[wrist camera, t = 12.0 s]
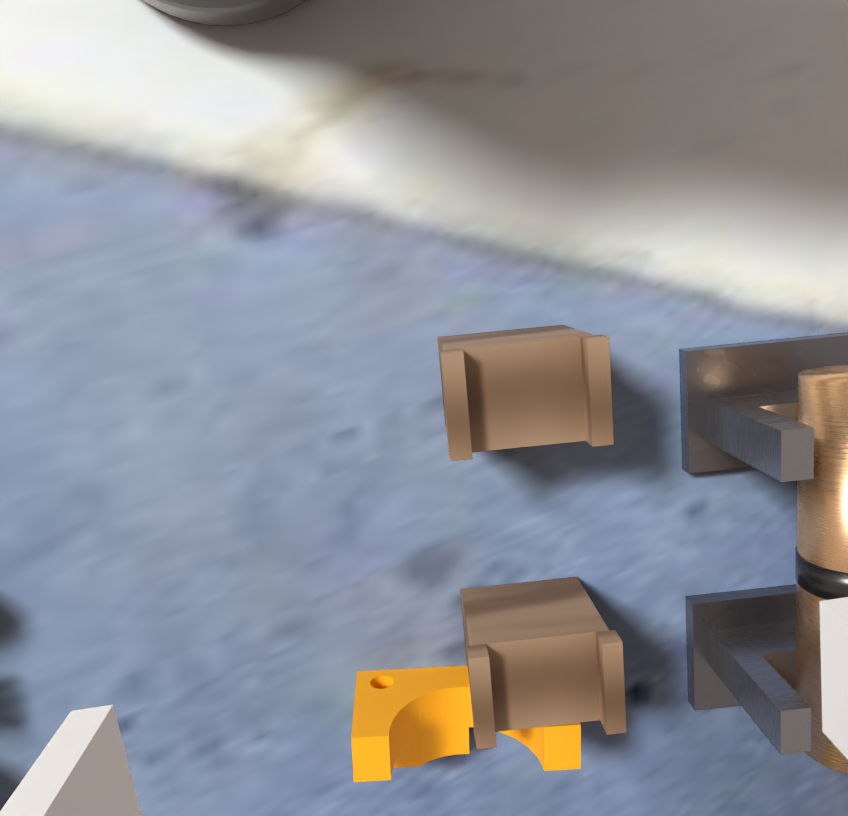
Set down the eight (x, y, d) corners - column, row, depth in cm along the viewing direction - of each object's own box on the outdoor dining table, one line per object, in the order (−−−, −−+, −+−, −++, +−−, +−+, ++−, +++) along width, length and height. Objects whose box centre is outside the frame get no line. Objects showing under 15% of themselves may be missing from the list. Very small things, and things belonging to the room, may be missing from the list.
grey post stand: (679, 349, 41) (759, 371, 32) (888, 328, 41) (1024, 344, 32) (688, 700, 45) (760, 806, 36) (877, 679, 45) (995, 779, 36)
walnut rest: (432, 337, 40) (441, 353, 32) (568, 324, 40) (609, 337, 32) (462, 666, 44) (476, 749, 36) (586, 652, 44) (626, 732, 36)
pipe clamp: (360, 733, 45) (355, 811, 38) (357, 669, 44) (351, 737, 37) (553, 723, 45) (580, 797, 39) (554, 659, 44) (580, 725, 38)
